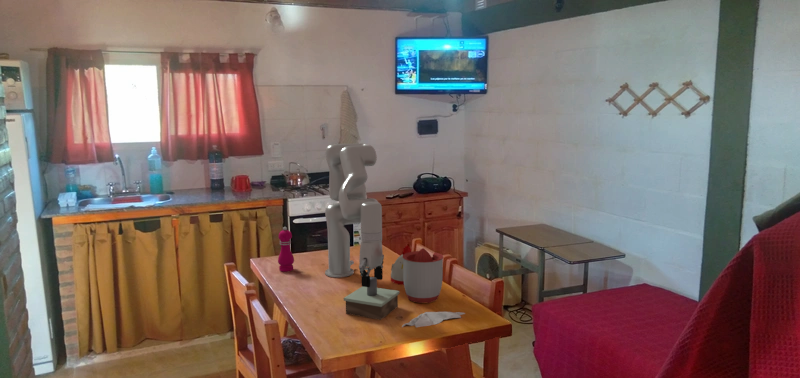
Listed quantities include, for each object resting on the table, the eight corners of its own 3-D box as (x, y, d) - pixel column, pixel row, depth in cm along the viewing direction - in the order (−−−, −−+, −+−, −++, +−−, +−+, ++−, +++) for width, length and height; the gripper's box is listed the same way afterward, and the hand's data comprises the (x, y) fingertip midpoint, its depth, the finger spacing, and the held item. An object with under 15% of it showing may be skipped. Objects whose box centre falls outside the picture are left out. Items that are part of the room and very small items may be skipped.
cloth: (460, 309, 205) (460, 304, 205) (475, 323, 192) (475, 317, 192) (392, 317, 198) (392, 311, 198) (403, 332, 185) (403, 325, 185)
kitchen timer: (385, 282, 235) (385, 248, 233) (397, 273, 248) (397, 240, 245) (416, 286, 230) (416, 251, 228) (427, 277, 242) (427, 243, 240)
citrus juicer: (448, 293, 222) (449, 244, 219) (437, 307, 206) (437, 255, 203) (411, 288, 227) (411, 241, 224) (397, 303, 211) (396, 251, 208)
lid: (363, 288, 212) (363, 270, 211) (399, 293, 206) (399, 275, 205) (343, 300, 199) (343, 281, 198) (381, 306, 193) (381, 287, 192)
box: (364, 301, 212) (364, 288, 212) (397, 306, 207) (397, 293, 206) (345, 313, 200) (345, 300, 199) (380, 319, 194) (380, 306, 193)
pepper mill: (290, 272, 249) (289, 228, 246) (275, 271, 251) (274, 228, 248) (296, 268, 256) (295, 225, 253) (282, 267, 258) (280, 224, 255)
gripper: (373, 231, 208) (374, 275, 211) (350, 240, 193) (351, 288, 195) (391, 232, 205) (391, 277, 208) (369, 242, 190) (370, 291, 192)
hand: (372, 282), depth 201 cm, fingers open, 9 cm apart
